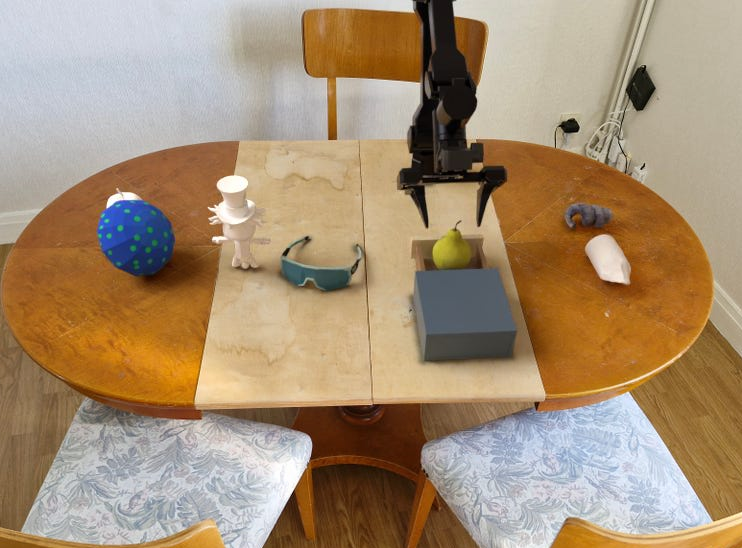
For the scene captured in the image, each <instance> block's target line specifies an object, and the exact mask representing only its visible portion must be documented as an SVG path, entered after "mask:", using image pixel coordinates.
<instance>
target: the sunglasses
mask: <svg viewBox="0 0 742 548" xmlns="http://www.w3.org/2000/svg"><path fill="white" fill-rule="evenodd" d="M309 237H310V236H309V235H307V236H305V237H301V238H298V239H297V240H294V241H293V242H291V243H290V244H288V245H287V247H286V248H285V250H284V251H283V252H282V254H281V255H280V267H281V271H282V275H284V276H285V278H286V279H287V280H289V282H291V283H292V284H293V285H295V286H297V287H302V286H303V287H304V286H307V284H308V282H309V281H311V282H313V285H314V286H315V287H316V288H317V289H320V290H322V291H325V292H327V291H332V290H338V289H341V288H344V287H346V286H348V285H349V284H350V282H351V281H352V278H353V275H354V274H355V273H356V271H357V270H358V268H359V263H360V261H362V250H361V248H360V246H359V244H358V243H356V250H357V252H358V258H356V261H355V263H354V264H353V265H352V266H347V265H346V266H345V265H344V266H334V267H333V266H331V267H329V266H328V267H327V266H316V265H315V266H314V265H306V264H303V263H301V262H298V261H295V260H292V259H290V258H288V255H289V254H290V251H291V250H292V248H293V247H295V246H296V245H298V244H300V243H304V242H305V241H308V240H309Z"/></svg>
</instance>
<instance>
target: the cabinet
mask: <svg viewBox="0 0 742 548" xmlns="http://www.w3.org/2000/svg"><path fill="white" fill-rule="evenodd" d="M413 281H414V282H413V294H412V298H413V299H412V300H413V304H414V305H413V306H414V310H415V317H416V323H417V329H418V333H419V334H418V335H419V340H420V346H421V353H422V359H423V361H424V362H426V361H427V362H429V361H448V360H470V359H471V360H472V359H490V358H491V359H493V358H511V357H512V354H513V350H514V346H515V341H516V338H517V333H518V329H517V325H516V323H515V320H514V316H513V313H512V309H511V306H510V303H509V300H508V297H507V293H506V290H505V286H504V283H503V281H502V276H501V273H500V270H499V267H493V268H492V267H490V268H489V267H488V269H461V270H433V271H417V270H415V271H414V280H413Z"/></svg>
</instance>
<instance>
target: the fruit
mask: <svg viewBox="0 0 742 548" xmlns="http://www.w3.org/2000/svg"><path fill="white" fill-rule="evenodd" d="M460 223H462V220H461V219H460V220H458V221H457V222H456V224H455V225H454V227H453V228H450V229H449V230H448V231H447V232H446V234H445V235H446V236H445V237H442V238H440V239H439V240H438V241H437V242H436V244H435V245H434V247H433V260H434V263H435V265H436V266H437V267H438V269H439V270H461V269H465V268H466V267H467V266H468V264H469V262H470V259H471V249H470V246H469V245H468V243H467V242H466V241H465V240H464V239H462V236H461V235H462V233H461V231H460V229H458V228H457V226H458V225H459V224H460Z"/></svg>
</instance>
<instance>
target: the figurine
mask: <svg viewBox="0 0 742 548" xmlns="http://www.w3.org/2000/svg"><path fill="white" fill-rule="evenodd" d="M248 186H249V181H248V180H247V178H245V177H244V176H241V175H228V176H224V177H222V178H220V179H219V180H218V181H217V183H216V188H217V190H218V191H219V192H220V194H221V196H222V199H223V201H221V202H220V203H219V204H218V205H216V204H214V207H210V206H207V209H208V210H209V211H210V212H212V213H215V214H216V215H214V216H212V217H208V220H209V221H210V223H208V224H209V225H210V226H214V225H218V224H219V225H221V224H222V233H223V236H221V235H219V236H213V237H212V239H211V241H212V243H214V244H216V245H219V244H220V245H221V244H233V245H234V250H235V253H234V254H233V258H232V262H231V266H232V268H233V267H234V268H236V267H240V265H241V267H242V269H245V270H247V269H248V268H249V267H252V268H258V267H259V266H260V265H259V263H258V261H257V260H256V258H255V256H254V255H253V253H252V252H251V244H252V245H260V246H266V245H270V244H271V238H267V237H255V238H254V236H255V233H256V229H257V227H259V228H262V227H263V226H264V225H262V224H267V223H268V221H267V220H264V219H263V218H262V217H265V214H264V213H265V212H266V209H264V208H265V207H264V206H262V207H257V205H256V203H255V202H254V201H252V200H250V199H247V189H248ZM240 260H243V262H241V264H240ZM248 260H249V262H250V264H249V262H248Z"/></svg>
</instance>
